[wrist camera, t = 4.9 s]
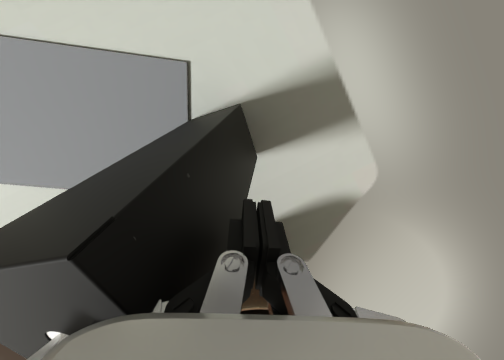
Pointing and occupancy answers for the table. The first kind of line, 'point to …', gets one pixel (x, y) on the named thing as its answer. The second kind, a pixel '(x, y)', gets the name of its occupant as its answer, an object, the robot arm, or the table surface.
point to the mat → (81, 109)
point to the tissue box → (125, 234)
